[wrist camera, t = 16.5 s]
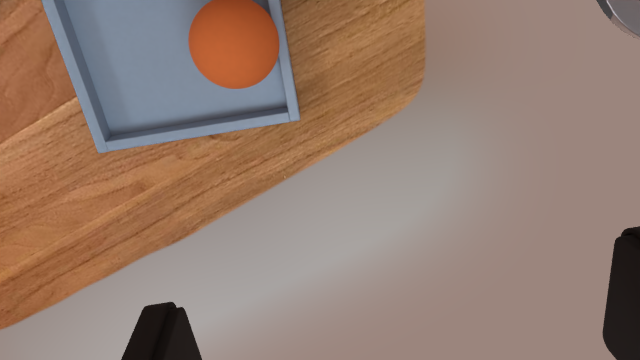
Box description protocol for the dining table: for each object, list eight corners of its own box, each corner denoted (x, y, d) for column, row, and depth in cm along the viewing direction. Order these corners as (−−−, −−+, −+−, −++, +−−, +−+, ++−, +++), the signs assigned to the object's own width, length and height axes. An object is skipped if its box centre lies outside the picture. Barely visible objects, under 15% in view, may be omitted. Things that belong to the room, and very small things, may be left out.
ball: (190, 4, 33) (272, -15, 33) (215, 86, 36) (291, 70, 35) (162, 10, 28) (260, -13, 27) (194, 106, 30) (284, 88, 30)
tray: (269, -63, 32) (268, -65, 30) (300, 113, 37) (300, 120, 36) (45, -26, 32) (31, -26, 30) (107, 144, 37) (98, 153, 36)
